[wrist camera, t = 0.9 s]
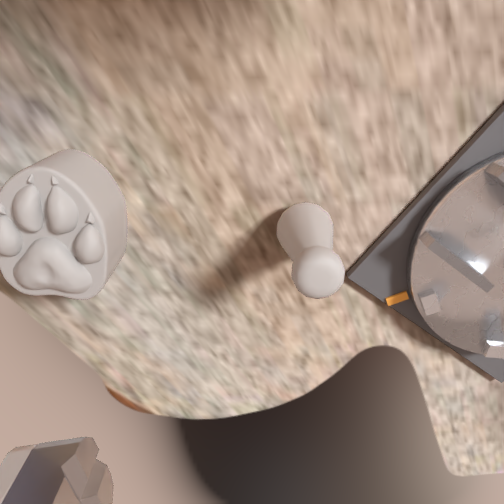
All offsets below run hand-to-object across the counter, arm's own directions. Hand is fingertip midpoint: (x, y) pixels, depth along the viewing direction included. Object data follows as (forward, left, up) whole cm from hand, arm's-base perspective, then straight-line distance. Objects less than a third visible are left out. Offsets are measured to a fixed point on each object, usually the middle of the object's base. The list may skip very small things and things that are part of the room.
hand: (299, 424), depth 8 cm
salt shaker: (+5, +9, -36) cm, 38 cm away
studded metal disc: (-6, +30, -35) cm, 46 cm away
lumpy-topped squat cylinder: (+18, -11, -36) cm, 42 cm away
